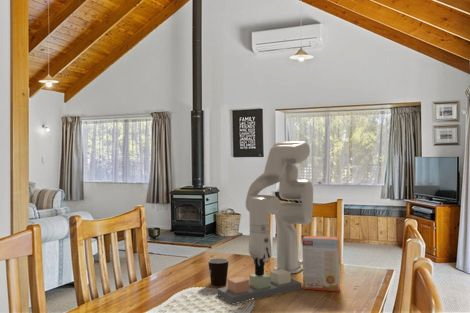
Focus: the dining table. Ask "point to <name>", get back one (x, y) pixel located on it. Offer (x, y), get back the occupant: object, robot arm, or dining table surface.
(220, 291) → the button panel
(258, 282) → the sage button
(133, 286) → the dining table surface
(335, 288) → the cracker box
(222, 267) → the coffee mug
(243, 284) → the terracotta button
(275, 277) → the cream button
